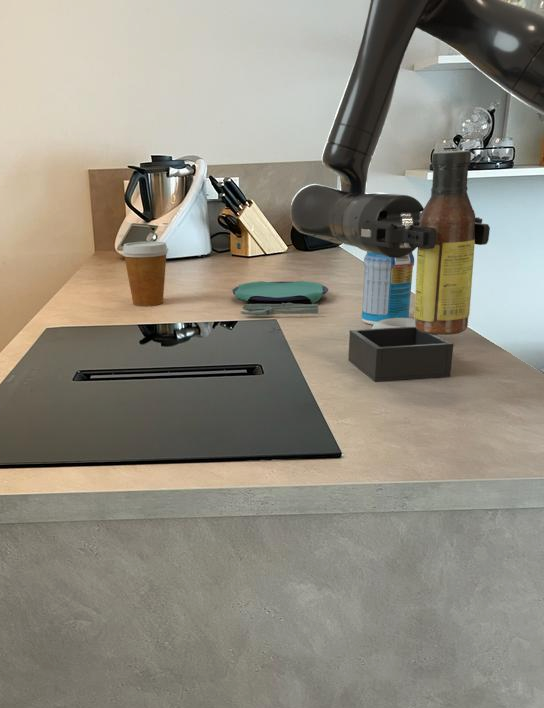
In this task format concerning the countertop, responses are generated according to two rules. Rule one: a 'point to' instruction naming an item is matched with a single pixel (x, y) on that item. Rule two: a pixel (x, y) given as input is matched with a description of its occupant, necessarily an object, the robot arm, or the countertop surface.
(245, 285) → the cutlery set
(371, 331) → the box
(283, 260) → the countertop surface
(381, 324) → the donut
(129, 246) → the disposable coffee cup
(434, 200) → the sauce bottle
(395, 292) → the beverage bottle
